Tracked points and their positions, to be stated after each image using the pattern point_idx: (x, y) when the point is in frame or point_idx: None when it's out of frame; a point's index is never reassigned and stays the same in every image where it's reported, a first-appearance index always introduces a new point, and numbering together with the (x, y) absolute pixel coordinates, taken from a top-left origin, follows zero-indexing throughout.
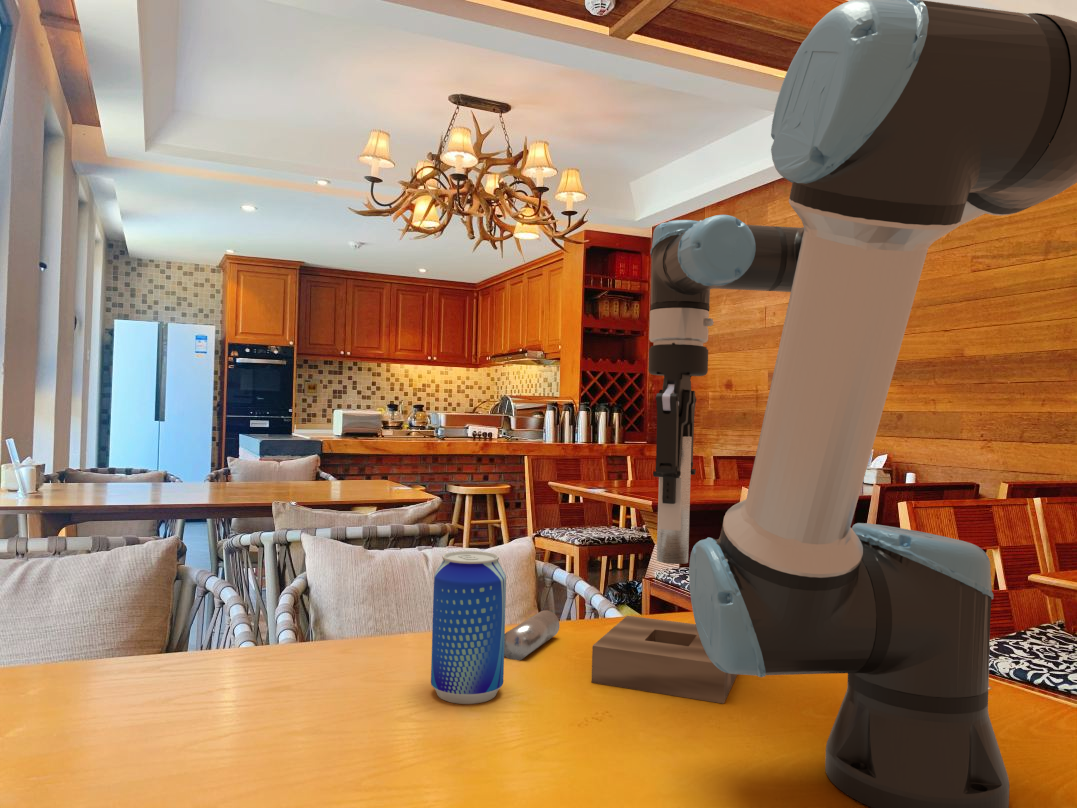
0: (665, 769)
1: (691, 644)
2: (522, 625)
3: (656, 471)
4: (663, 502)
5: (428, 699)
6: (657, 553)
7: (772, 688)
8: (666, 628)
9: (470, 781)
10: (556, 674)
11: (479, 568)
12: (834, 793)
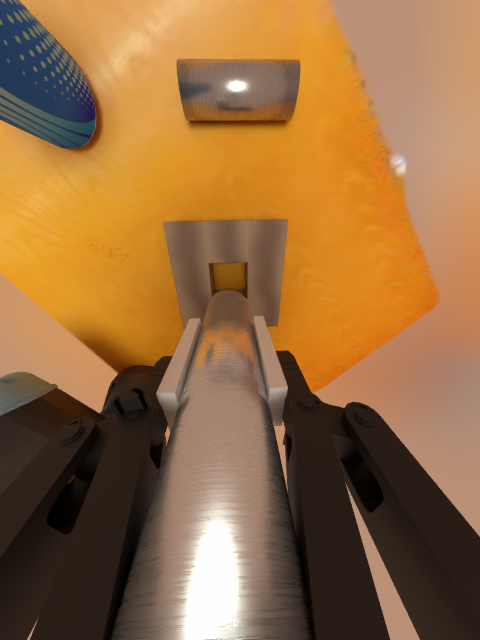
0: (80, 309)
1: None
2: (206, 77)
3: (70, 422)
4: (161, 359)
5: None
6: (215, 296)
7: None
8: (255, 271)
9: None
10: (172, 180)
11: None
12: (118, 369)
